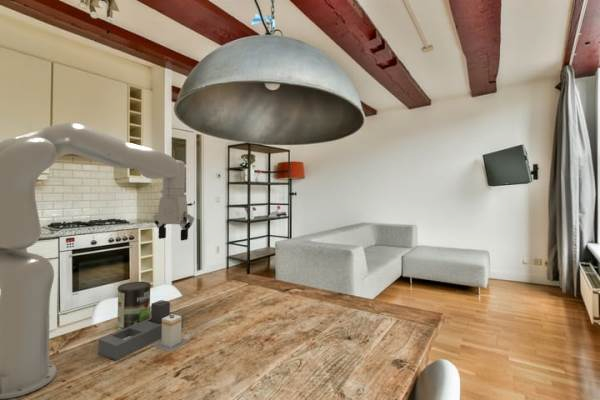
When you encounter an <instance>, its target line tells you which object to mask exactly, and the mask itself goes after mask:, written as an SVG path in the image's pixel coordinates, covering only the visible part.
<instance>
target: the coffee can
mask: <svg viewBox="0 0 600 400" xmlns="http://www.w3.org/2000/svg"><path fill="white" fill-rule="evenodd" d="M151 285H152V284H151V283H150V282H147V281H131V282H126V283H122V284H120V285H119V286H117V324H116V325H117V327H116V329H117V330H118V331H120V330H122V329H124V328H127V327H129V326H132V325H134V324H136V323H139V322H141V321H144V320H146V319H148V318H151V315H150V314H151V311H150V310H151Z"/></svg>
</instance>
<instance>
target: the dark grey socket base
mask: <svg viewBox="0 0 600 400" xmlns="http://www.w3.org/2000/svg"><path fill="white" fill-rule="evenodd" d="M171 314H174V315H178V316H182V323H181V329H182V328H183V327H184V325H183V324H184V316H183V314H180V313H176V312H171V311H170V315H171ZM160 339H162V323H161V324H157V323H153V322H151V317H150V318H148V319H146V320H144V321H141V322H139V323H136V324H134V325H132V326H129V327H127V328H124V329H122V330H118V331H115V332H113V333H111V334H108V335H105V336H103V337H101V338H99V339H98V340H97V341H98V349H97V353H98V355H101V356H103V357H106V358H109V359H111V360H114V361H118V360H120V359H123V358H125V357H126V356H128V355H130V354H132V353H134V352H136V351H138V350H140V349H142V348H144V347H147V346H148V345H150V344H152V343H154V342H156V341H158V340H160Z"/></svg>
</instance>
